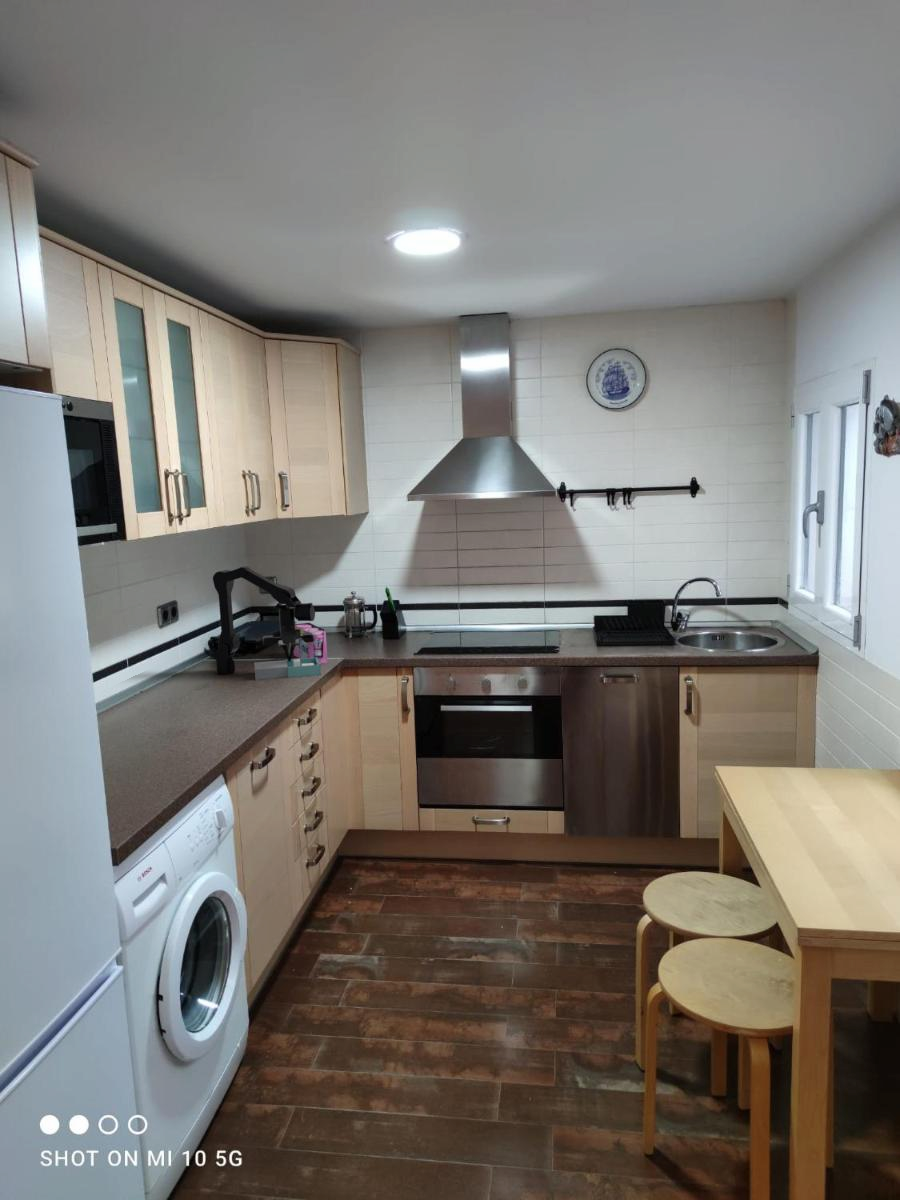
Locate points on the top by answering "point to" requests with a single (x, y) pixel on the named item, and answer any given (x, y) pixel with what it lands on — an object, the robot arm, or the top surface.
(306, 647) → the gum box
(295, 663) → the tile
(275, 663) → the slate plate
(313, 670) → the tray
